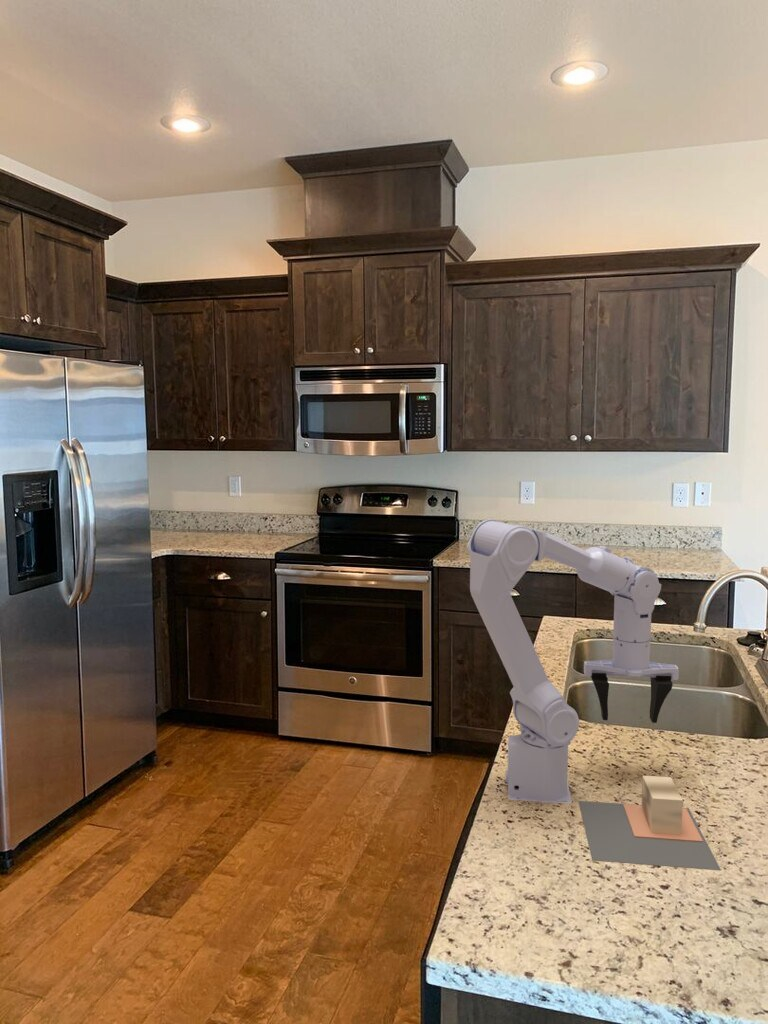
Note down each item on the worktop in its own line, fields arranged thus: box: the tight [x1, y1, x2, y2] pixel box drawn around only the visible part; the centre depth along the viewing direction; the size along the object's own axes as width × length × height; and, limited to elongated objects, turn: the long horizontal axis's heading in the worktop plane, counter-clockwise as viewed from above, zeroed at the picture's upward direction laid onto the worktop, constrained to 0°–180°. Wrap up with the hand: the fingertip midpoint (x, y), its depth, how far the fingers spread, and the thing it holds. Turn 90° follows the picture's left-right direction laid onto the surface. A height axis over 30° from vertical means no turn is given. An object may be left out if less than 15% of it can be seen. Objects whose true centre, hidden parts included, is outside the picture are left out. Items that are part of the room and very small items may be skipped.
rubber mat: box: [578, 800, 722, 872], centre depth 104 cm, size 16×16×1 cm
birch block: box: [641, 775, 684, 835], centre depth 107 cm, size 7×4×5 cm, turn 172°
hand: (628, 719), depth 122 cm, fingers open, 7 cm apart
